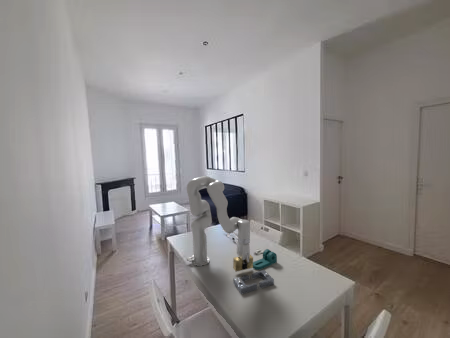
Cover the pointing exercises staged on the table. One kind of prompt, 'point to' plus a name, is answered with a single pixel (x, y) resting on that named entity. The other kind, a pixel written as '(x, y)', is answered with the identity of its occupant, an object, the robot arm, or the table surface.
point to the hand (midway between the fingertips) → (243, 266)
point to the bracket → (265, 260)
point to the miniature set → (232, 237)
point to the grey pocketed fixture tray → (244, 289)
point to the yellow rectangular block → (238, 263)
